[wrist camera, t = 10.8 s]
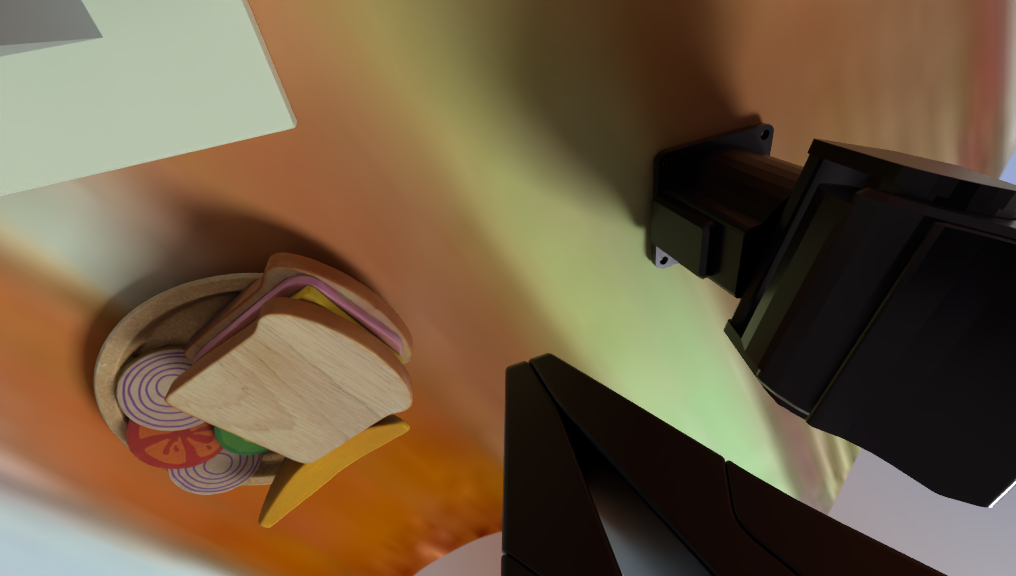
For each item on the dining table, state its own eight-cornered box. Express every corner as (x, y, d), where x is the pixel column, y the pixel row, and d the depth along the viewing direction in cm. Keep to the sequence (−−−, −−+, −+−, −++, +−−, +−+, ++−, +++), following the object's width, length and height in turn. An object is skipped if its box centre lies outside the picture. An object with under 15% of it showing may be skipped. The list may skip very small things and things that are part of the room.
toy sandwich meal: (24, 371, 18) (-62, 467, 14) (303, 191, 18) (292, 239, 14) (261, 498, 25) (246, 584, 21) (461, 370, 25) (482, 435, 21)
